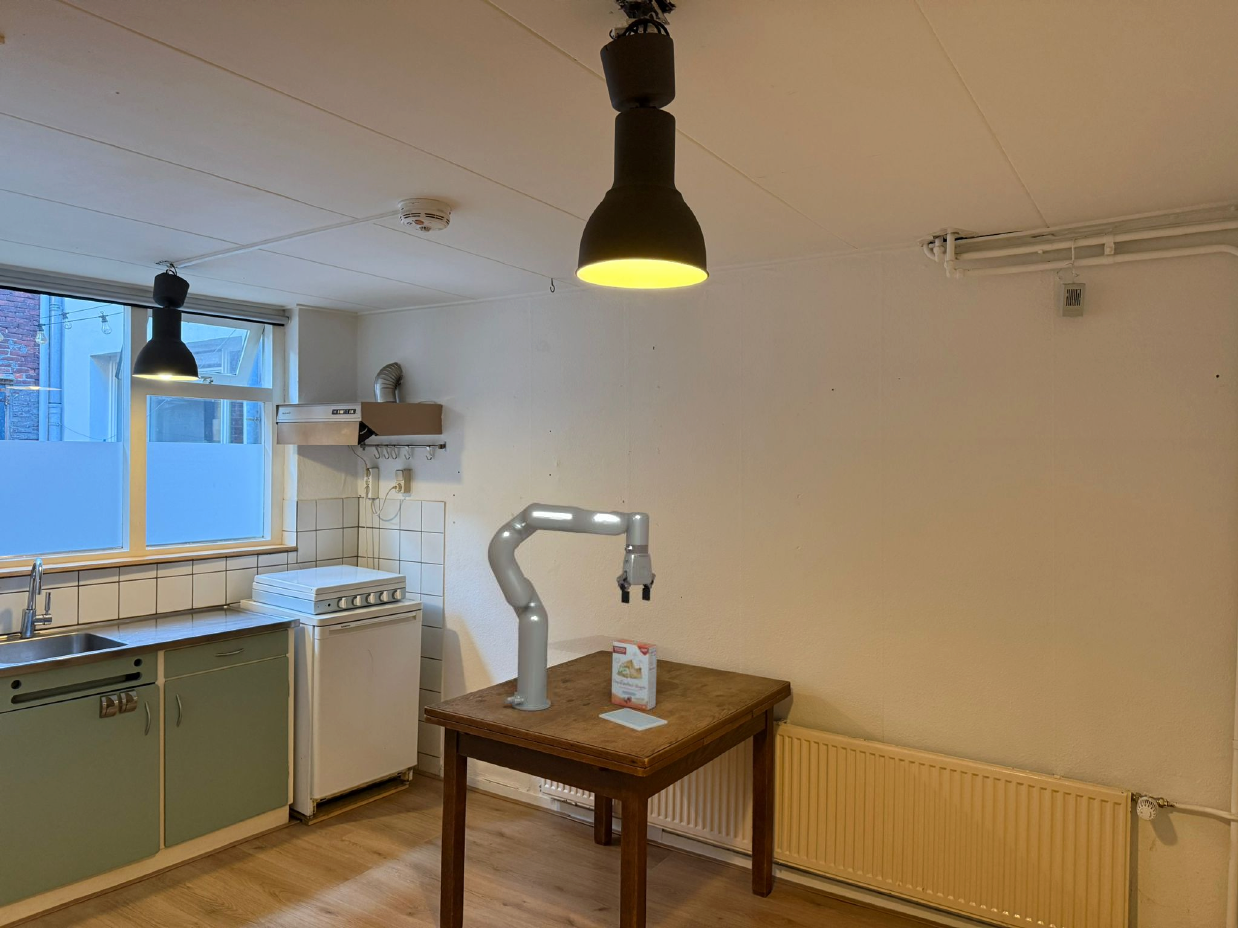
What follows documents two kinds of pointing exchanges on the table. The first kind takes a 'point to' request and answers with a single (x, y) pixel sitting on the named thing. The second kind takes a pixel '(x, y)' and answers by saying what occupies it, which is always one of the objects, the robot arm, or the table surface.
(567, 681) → the table surface
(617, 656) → the cracker box
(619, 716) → the plate
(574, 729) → the table surface
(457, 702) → the table surface
